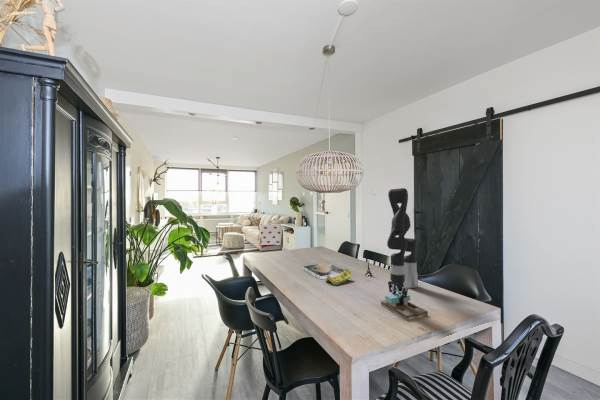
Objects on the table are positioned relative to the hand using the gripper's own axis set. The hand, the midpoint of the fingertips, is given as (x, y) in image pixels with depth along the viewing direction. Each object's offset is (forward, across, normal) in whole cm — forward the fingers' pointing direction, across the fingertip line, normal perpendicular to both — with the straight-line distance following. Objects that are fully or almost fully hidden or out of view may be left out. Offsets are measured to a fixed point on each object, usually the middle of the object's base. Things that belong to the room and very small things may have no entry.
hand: (397, 302), depth 150 cm
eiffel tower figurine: (+4, +58, -22) cm, 62 cm away
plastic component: (+3, +54, +7) cm, 54 cm away
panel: (+1, 0, 0) cm, 1 cm away
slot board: (+3, -4, 0) cm, 5 cm away
